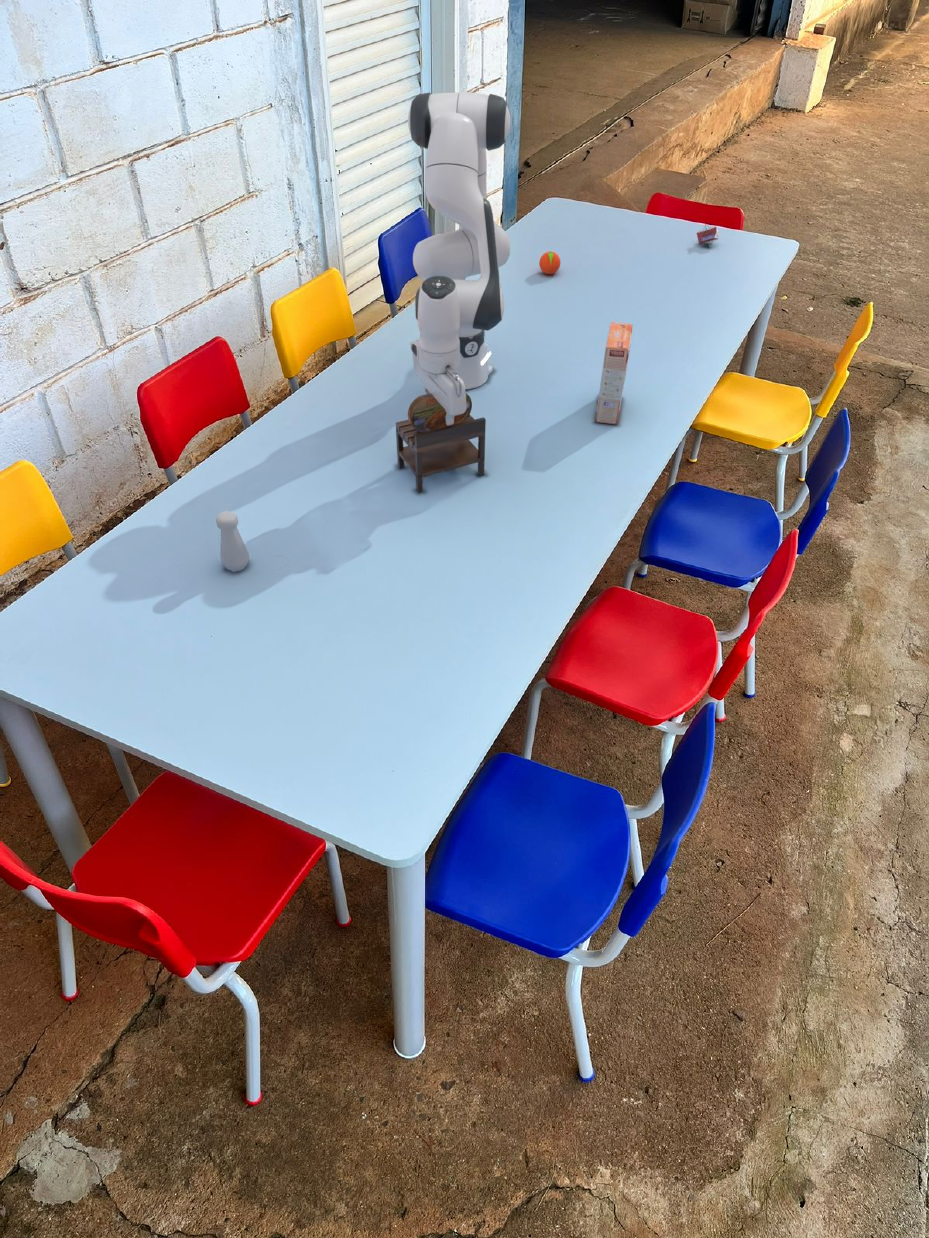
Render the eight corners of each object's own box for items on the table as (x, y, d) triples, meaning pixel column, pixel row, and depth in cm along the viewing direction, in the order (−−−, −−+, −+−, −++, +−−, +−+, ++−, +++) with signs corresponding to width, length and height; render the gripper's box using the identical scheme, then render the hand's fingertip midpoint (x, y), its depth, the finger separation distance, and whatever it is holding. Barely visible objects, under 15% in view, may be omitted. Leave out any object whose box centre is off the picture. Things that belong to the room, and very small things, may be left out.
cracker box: (618, 426, 226) (629, 349, 212) (594, 423, 227) (604, 346, 213) (622, 398, 236) (633, 323, 222) (599, 395, 237) (609, 320, 223)
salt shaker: (237, 578, 183) (226, 528, 174) (216, 568, 185) (204, 518, 176) (256, 562, 187) (246, 512, 178) (235, 553, 189) (225, 503, 180)
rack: (397, 466, 213) (394, 411, 202) (461, 449, 218) (462, 394, 208) (418, 493, 205) (416, 437, 194) (484, 475, 210) (485, 419, 200)
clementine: (560, 279, 291) (562, 257, 286) (539, 279, 291) (540, 257, 286) (558, 269, 296) (560, 247, 291) (538, 269, 296) (539, 247, 291)
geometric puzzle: (691, 241, 309) (709, 223, 304) (691, 234, 314) (708, 216, 309) (706, 255, 311) (724, 238, 306) (705, 247, 316) (723, 230, 311)
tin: (412, 437, 200) (410, 403, 194) (406, 430, 202) (405, 397, 196) (472, 421, 205) (473, 388, 199) (466, 415, 207) (466, 382, 201)
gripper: (474, 375, 186) (473, 432, 195) (433, 333, 199) (434, 389, 208) (446, 381, 184) (447, 439, 193) (407, 339, 197) (409, 395, 206)
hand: (439, 413), depth 201 cm, fingers open, 8 cm apart
